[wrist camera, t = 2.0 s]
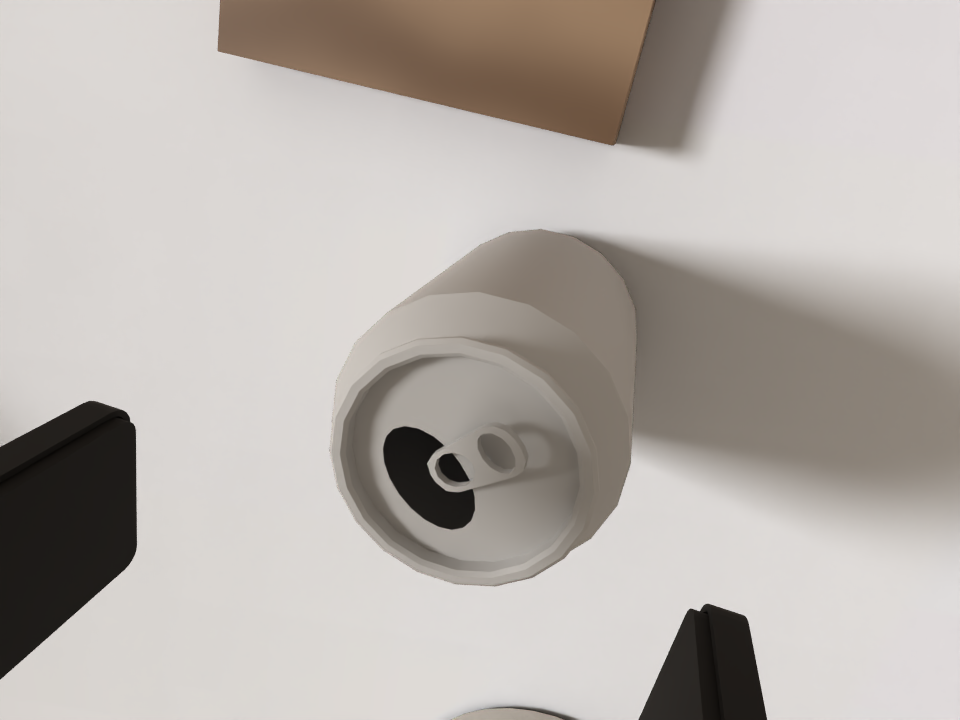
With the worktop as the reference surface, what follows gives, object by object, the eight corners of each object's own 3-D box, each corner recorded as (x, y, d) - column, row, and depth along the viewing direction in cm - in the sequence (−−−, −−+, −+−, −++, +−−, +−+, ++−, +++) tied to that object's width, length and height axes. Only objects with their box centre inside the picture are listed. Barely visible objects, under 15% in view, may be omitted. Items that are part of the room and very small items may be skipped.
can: (410, 290, 26) (238, 411, 15) (570, 185, 23) (502, 240, 12) (510, 440, 27) (418, 654, 16) (675, 358, 25) (697, 548, 14)
